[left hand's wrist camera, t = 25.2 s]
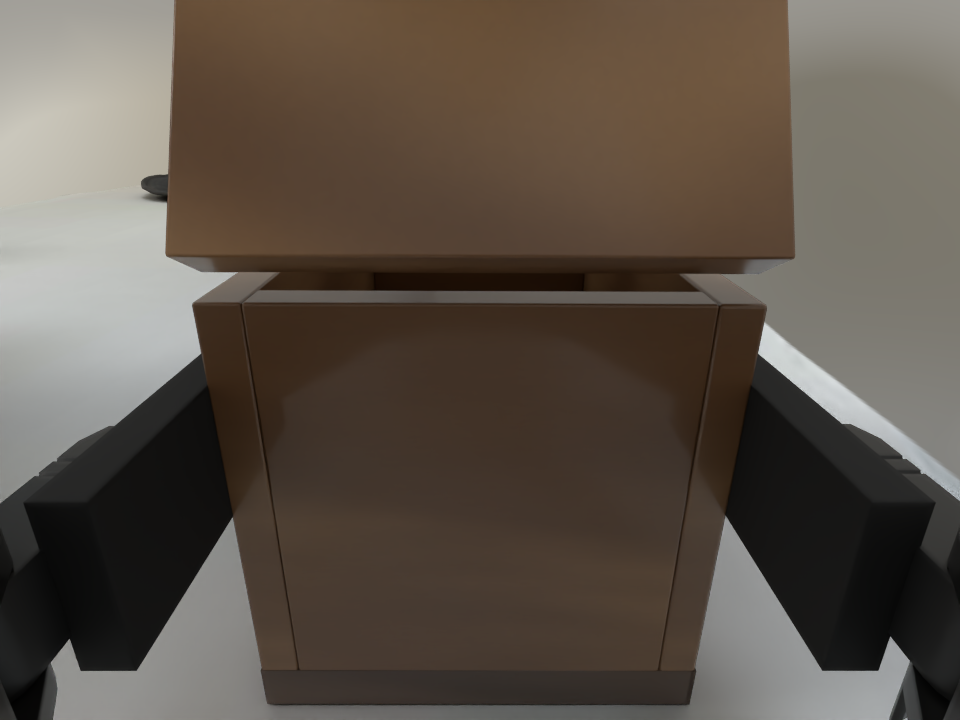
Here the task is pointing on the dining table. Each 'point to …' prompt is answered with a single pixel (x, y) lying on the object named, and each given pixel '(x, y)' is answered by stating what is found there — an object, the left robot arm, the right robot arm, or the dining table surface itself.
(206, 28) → the lid
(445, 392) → the chest
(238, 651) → the dining table surface
